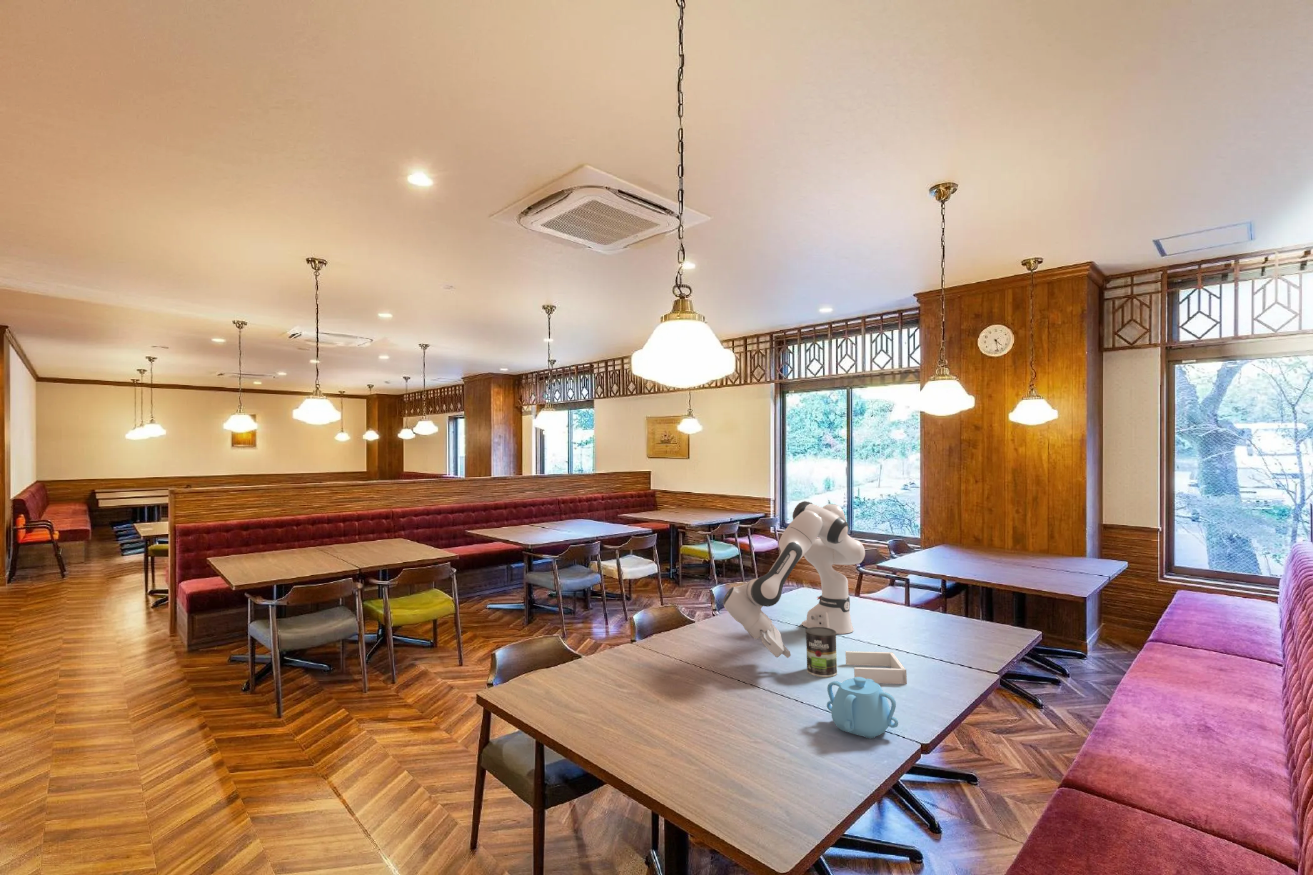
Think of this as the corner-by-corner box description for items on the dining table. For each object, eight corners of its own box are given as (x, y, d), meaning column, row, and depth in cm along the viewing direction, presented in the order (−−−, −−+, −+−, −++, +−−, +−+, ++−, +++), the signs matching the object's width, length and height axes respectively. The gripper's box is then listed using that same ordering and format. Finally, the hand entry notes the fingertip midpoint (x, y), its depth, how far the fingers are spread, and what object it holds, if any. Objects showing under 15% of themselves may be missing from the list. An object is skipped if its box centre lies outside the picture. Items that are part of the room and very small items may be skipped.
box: (855, 682, 189) (854, 668, 189) (845, 663, 206) (845, 651, 206) (906, 684, 186) (906, 670, 186) (893, 665, 203) (892, 652, 204)
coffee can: (834, 679, 192) (833, 636, 192) (803, 674, 196) (802, 633, 197) (840, 669, 201) (838, 628, 201) (810, 664, 206) (809, 625, 206)
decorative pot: (824, 715, 165) (822, 668, 166) (880, 714, 165) (877, 666, 165) (840, 743, 149) (838, 690, 149) (903, 742, 148) (900, 689, 149)
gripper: (767, 629, 192) (798, 659, 190) (765, 612, 212) (792, 639, 210) (754, 642, 192) (785, 672, 191) (753, 624, 213) (781, 651, 211)
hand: (789, 655), depth 201 cm, fingers closed
